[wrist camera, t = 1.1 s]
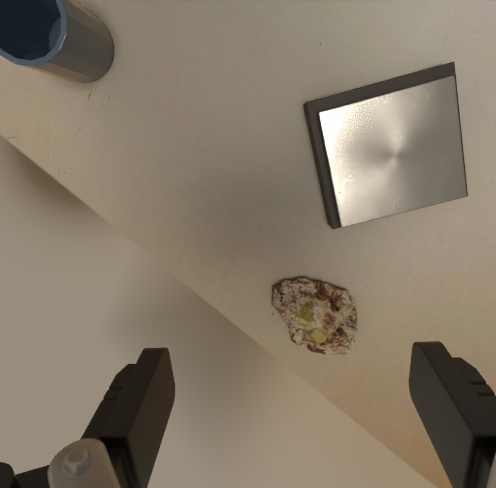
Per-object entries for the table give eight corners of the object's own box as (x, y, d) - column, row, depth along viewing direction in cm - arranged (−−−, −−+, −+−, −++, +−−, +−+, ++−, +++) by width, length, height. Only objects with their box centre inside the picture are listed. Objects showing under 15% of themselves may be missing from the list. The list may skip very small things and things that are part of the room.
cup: (37, 20, 34) (-38, -19, 25) (99, 1, 33) (45, -47, 24) (63, 90, 35) (1, 76, 27) (123, 72, 35) (79, 52, 26)
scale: (303, 104, 35) (307, 101, 32) (443, 65, 34) (462, 58, 31) (328, 224, 38) (334, 232, 35) (457, 192, 37) (475, 198, 34)
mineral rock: (384, 317, 39) (339, 380, 38) (366, 308, 43) (325, 365, 43) (303, 255, 37) (256, 321, 37) (293, 252, 42) (250, 311, 41)
